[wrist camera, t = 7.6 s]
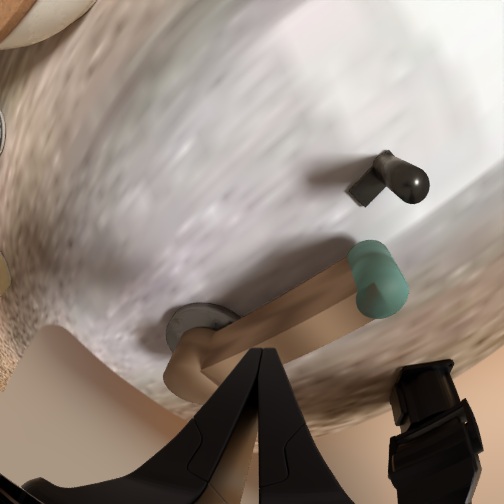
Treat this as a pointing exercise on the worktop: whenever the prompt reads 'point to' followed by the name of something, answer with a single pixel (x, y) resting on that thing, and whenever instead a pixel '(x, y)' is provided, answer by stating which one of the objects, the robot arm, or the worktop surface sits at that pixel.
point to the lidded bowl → (37, 19)
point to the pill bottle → (2, 131)
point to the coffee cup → (4, 275)
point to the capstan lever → (292, 321)
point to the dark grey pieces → (365, 190)
